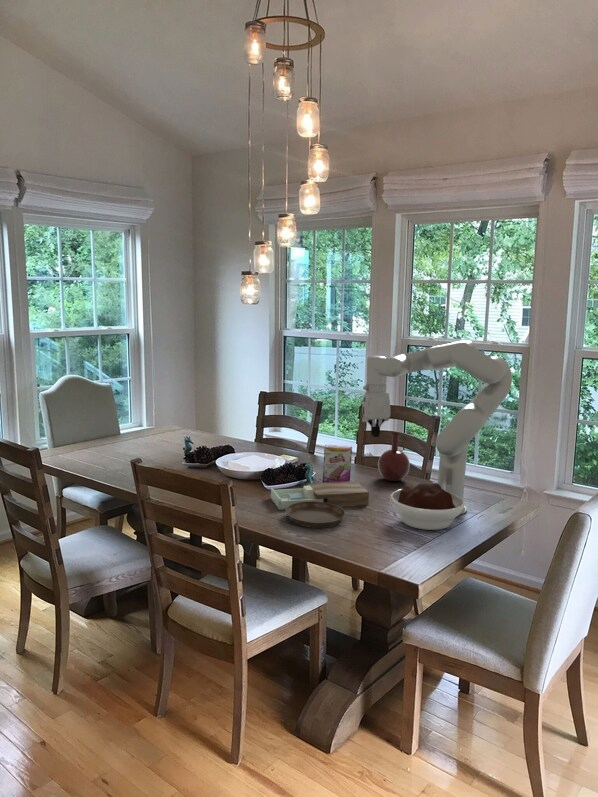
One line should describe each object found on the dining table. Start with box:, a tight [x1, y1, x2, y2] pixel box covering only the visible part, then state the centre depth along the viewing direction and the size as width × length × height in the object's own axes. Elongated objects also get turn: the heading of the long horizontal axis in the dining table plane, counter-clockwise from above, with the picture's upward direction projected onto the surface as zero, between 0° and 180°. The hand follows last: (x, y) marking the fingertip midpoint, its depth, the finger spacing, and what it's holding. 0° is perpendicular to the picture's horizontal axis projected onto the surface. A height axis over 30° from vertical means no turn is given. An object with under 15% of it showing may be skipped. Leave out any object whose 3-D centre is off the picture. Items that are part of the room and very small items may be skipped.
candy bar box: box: [322, 444, 353, 483], centre depth 274 cm, size 11×5×16 cm, turn 84°
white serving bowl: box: [389, 482, 466, 531], centre depth 233 cm, size 25×25×15 cm
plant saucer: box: [285, 502, 346, 529], centre depth 236 cm, size 21×21×3 cm
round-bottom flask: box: [377, 432, 411, 482], centre depth 284 cm, size 13×13×20 cm
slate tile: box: [288, 493, 304, 500], centre depth 252 cm, size 5×5×2 cm
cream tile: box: [302, 485, 314, 499], centre depth 253 cm, size 5×5×2 cm
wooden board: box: [306, 480, 370, 508], centre depth 256 cm, size 14×20×5 cm
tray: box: [270, 487, 324, 511], centre depth 253 cm, size 13×17×4 cm
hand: (375, 436), depth 259 cm, fingers closed
